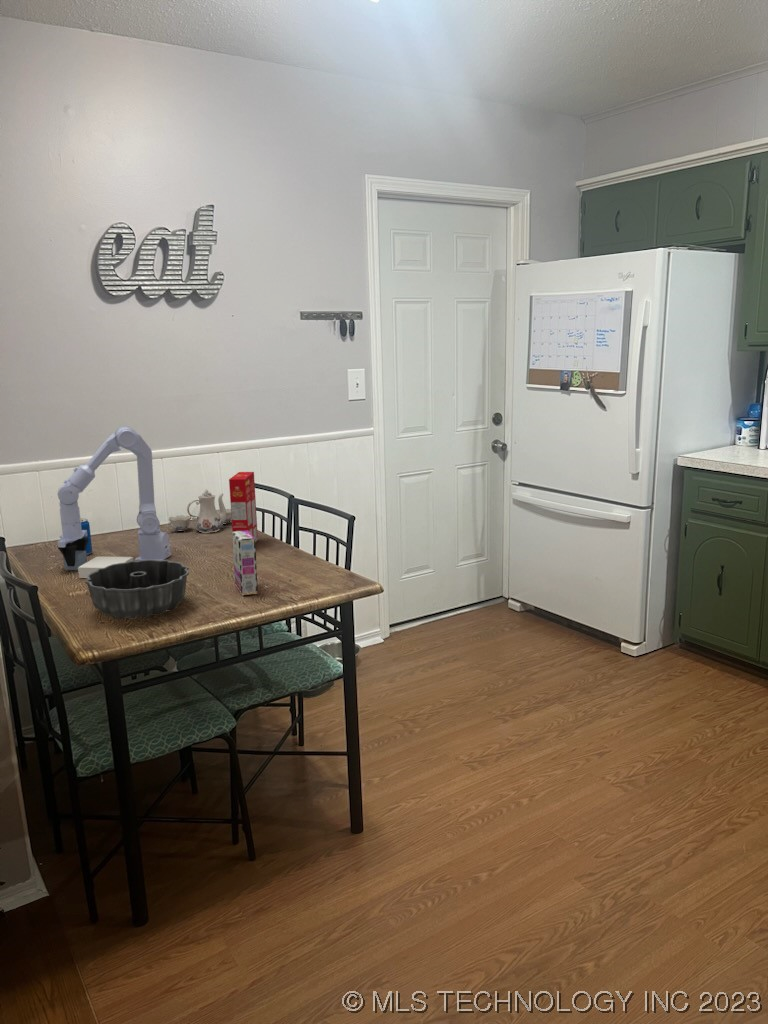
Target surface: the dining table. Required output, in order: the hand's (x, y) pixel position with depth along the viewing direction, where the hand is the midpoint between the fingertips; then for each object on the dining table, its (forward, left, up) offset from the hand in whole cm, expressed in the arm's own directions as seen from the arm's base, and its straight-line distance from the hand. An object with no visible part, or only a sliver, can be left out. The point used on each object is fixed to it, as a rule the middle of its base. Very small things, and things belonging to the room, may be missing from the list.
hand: (75, 563), depth 241 cm
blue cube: (0, 0, -1) cm, 1 cm away
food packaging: (-47, -29, -2) cm, 56 cm away
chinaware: (-24, -52, -2) cm, 57 cm away
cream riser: (-13, +5, -2) cm, 14 cm away
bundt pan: (-38, +35, -2) cm, 52 cm away
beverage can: (+6, -15, -2) cm, 16 cm away
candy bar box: (-62, +18, -2) cm, 65 cm away
